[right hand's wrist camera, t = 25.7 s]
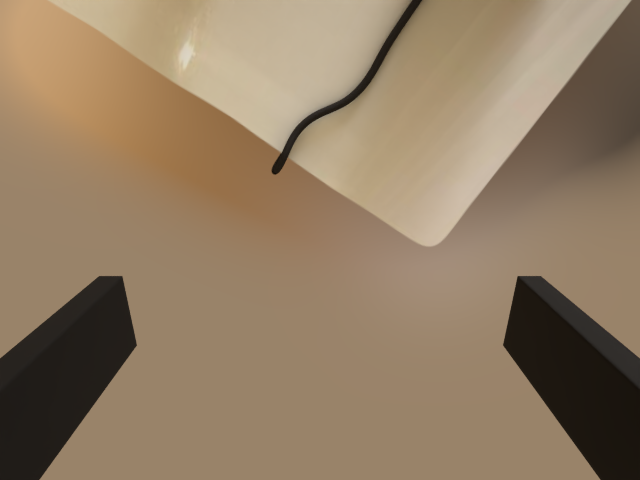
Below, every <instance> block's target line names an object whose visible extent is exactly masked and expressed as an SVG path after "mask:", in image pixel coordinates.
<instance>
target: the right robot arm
mask: <svg viewBox="0 0 640 480" xmlns="http://www.w3.org/2000/svg"><path fill="white" fill-rule="evenodd" d="M421 1H422V0H412V2H411V3H410V5H409V6H408V8H407V9H406V11H405V12H404V13H403V15H402V16H401V18H400V20H399V21H398V23H397V24H396V26H395V27H394V29H393V30H392V32H391V33H390V35H389V36H388V38H387V39H386V41H385V43H384V44H383V46H382V48H381V50H380V52H379V53H378V55H377V57H376V59H375V61H374V63H373V65H372V66H371V68H370V70H369V71H368V73H367V75H366V76H365V78H364V79H363V80H362V82H361V83H360V84H359V85H358V86H357V87H356V88H355V89H354V90H353V91H352V92H351V93H350V94H349V95H348V96H346V97H345V98H343V99H342V100H340V101H338V102H336V103H334V104H331V105H329V106H327V107H325V108H322V109H320V110H318V111H316V112H314V113H312V114H311V115H309V116H308V117H306V118H305V119H304V120H303V121H302V122H301V123H300V124H299V125H298V126H297V127H296V128H295V129H294V131H293V132H292V134H291V135H290V137H289V139H288V141H287V143H286V145H285V147H284V149H283V152H282V153H280V155H279V157H278V158H277V160H276V161H275V163H274V165H273V167H272V170H271V171H272V174H274V175H276V174H278V173H279V172H280V170H281V169H282V167H283V166H284V164H285V162H286V160H287V157H288V155H289V153H290V151H291V148H292V146H293V144H294V142H295V141H296V139H297V137H298V136H299V134H300V133H301V132H302V131H303V130H304V129H305V128H306V127H307V126H308V125H309V124H310V123H312V122H313V121H315V120H316V119H318V118H320V117H322V116H325V115H327V114H329V113H332V112H334V111H336V110H338V109H340V108H342V107H344V106H346V105H347V104H349V103H350V102H352V101H353V100H354V99H355V98H357V97H358V96H359V95H360V94H361V93H362V92H363V91H364V89H365V88H366V87H367V86H368V84H369V83H370V82H371V80H372V79H373V77H374V76H375V74H376V73H377V71H378V69H379V67H380V65H381V64H382V62H383V60H384V58H385V56H386V54H387V53H388V51H389V49H390V47H391V46H392V44H393V42H394V41H395V39H396V38H397V36H398V35H399V33H400V32H401V30H402V29H403V27H404V26H405V24H406V23H407V21H408V20H409V18H410V17H411V15H412V14H413V13H414V11H415V10H416V8H417V7H418V5H419V4H420V2H421ZM136 346H137V344H136V339H135V334H134V329H133V325H132V320H131V315H130V310H129V306H128V301H127V297H126V291H125V287H124V282H123V278H122V276H99V277H98V278H96V279H95V280H94V281H93V282H92V283H91V284H89V285H88V286H87V287H86V288H84V289H83V290H82V291H81V292H80V293H78V294H77V295H76V296H75V297H74V298H72V299H71V300H70V301H69V302H68V303H66V304H65V305H64V306H63V307H62V308H60V309H59V310H58V311H57V312H56V313H54V314H53V315H52V316H51V317H50V318H48V319H47V320H46V321H45V322H44V323H42V324H41V325H40V326H39V327H38V328H36V329H35V330H34V331H33V332H32V333H30V334H29V335H28V336H27V337H26V338H24V339H23V340H22V341H21V342H19V343H18V344H17V345H16V346H15V347H13V348H12V349H11V350H10V351H9V352H7V353H6V354H5V355H4V356H3V357H1V358H0V480H39V479H40V478H41V477H42V475H43V474H44V473H45V471H46V470H47V468H48V467H49V466H50V464H51V463H52V461H53V460H54V459H55V457H56V456H57V455H58V453H59V452H60V451H61V449H62V448H63V446H64V445H65V444H66V442H67V441H68V439H69V438H70V437H71V435H72V434H73V433H74V431H75V430H76V428H77V427H78V426H79V424H80V423H81V422H82V420H83V419H84V417H85V416H86V415H87V413H88V412H89V411H90V409H91V408H92V406H93V405H94V404H95V402H96V401H97V399H98V398H99V397H100V395H101V394H102V393H103V391H104V390H105V388H106V387H107V386H108V384H109V383H110V382H111V380H112V379H113V377H114V376H115V375H116V373H117V372H118V370H119V369H120V368H121V366H122V365H123V364H124V362H125V361H126V359H127V358H128V357H129V355H130V354H131V353H132V351H133V350H134V348H135V347H136ZM503 346H504V347H505V348H506V350H507V351H508V353H509V354H510V355H511V357H512V358H513V360H514V361H515V362H516V364H517V365H518V366H519V368H520V369H521V371H522V372H523V373H524V375H525V376H526V377H527V379H528V380H529V382H530V383H531V384H532V386H533V387H534V388H535V390H536V391H537V393H538V394H539V395H540V397H541V398H542V400H543V401H544V402H545V404H546V405H547V406H548V408H549V409H550V411H551V412H552V413H553V415H554V416H555V417H556V419H557V420H558V422H559V423H560V424H561V426H562V427H563V428H564V430H565V431H566V433H567V434H568V435H569V437H570V438H571V439H572V441H573V442H574V444H575V445H576V446H577V448H578V449H579V451H580V452H581V453H582V455H583V456H584V457H585V459H586V460H587V461H588V463H589V464H590V466H591V467H592V468H593V470H594V471H595V473H596V474H597V475H598V477H599V478H600V479H601V480H640V358H639V357H637V356H636V355H635V354H634V353H633V352H631V351H630V350H629V349H628V348H627V347H625V346H624V345H623V344H622V343H620V342H619V341H618V340H617V339H616V338H614V337H613V336H612V335H611V334H610V333H609V332H607V331H606V330H605V329H604V328H602V327H601V326H600V325H599V324H598V323H596V322H595V321H594V320H593V319H592V318H590V317H589V316H588V315H587V314H586V313H584V312H583V311H582V310H581V309H580V308H578V307H577V306H576V305H575V304H574V303H572V302H571V301H570V300H569V299H568V298H566V297H565V296H564V295H563V294H562V293H560V292H559V291H558V290H557V289H556V288H554V287H553V286H552V285H551V284H549V283H548V282H547V281H546V280H545V279H543V278H542V277H541V276H518V277H517V282H516V287H515V292H514V296H513V301H512V306H511V310H510V315H509V320H508V325H507V329H506V334H505V339H504V344H503Z"/></svg>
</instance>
